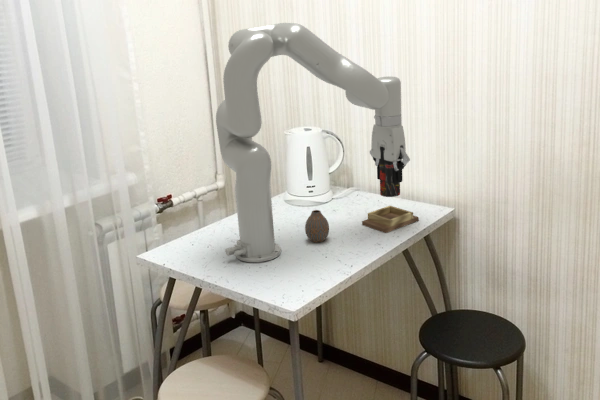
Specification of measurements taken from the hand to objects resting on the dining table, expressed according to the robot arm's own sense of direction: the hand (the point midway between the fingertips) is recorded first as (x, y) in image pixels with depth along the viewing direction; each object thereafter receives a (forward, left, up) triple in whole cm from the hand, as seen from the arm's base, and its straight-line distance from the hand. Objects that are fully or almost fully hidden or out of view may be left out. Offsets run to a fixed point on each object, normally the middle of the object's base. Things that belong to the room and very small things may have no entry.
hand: (389, 179), depth 195 cm
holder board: (0, 0, -14) cm, 14 cm away
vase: (-24, +6, -14) cm, 28 cm away
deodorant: (0, 0, -5) cm, 5 cm away
